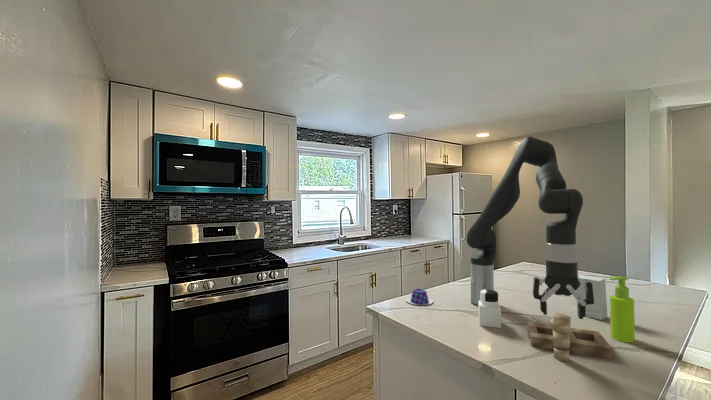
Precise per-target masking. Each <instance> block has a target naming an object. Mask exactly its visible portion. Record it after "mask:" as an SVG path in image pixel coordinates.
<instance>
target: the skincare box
mask: <svg viewBox="0 0 711 400" xmlns="http://www.w3.org/2000/svg"><path fill="white" fill-rule="evenodd" d="M578 280H579V281H586V280H588V281H589V282H591V283H592V286H593V296H594V304H588V305H586V307H585V308H586V316H585V317H588V318H592V319H596V320H601V321H603V320H604V319H606V318H607V317H608V303H607V286H606V285H607V284H606V278H604V277H598V276H597V277H595V276H590V275H589V276H588V275H583V274H581V275H578ZM576 292H577V293H578V294H579V296H580V297H581V298H582V299H586V292H585V289H583V287H582V286H581V285H580V286H579V288H578V289H577V290H576ZM578 304H579V302H578V300H577V299H576V310H577V311H576V312H577V313H576V314H578Z"/></svg>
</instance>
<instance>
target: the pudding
mask: <svg viewBox="0 0 711 400" xmlns="http://www.w3.org/2000/svg"><path fill="white" fill-rule="evenodd" d="M405 301H406V303H408V304H411V305H416V306H427V305H431V304H432V303H434V300H433V299H432V298H430V297H428V293H427V291H426V290H425V289H424V288H415V289H413V290H412V291H411V295H410V296H409V297H406V299H405Z"/></svg>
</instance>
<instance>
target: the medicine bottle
mask: <svg viewBox="0 0 711 400" xmlns="http://www.w3.org/2000/svg"><path fill="white" fill-rule="evenodd" d="M477 307H478V308H477V309H478V312H477V313H478V324H479V326H481V327H488V328H496V329H497V328H499V329H501V328H502V308H501V305H500V302H499V293H498V291H496V290H495V289H494V290H490V289H484V290H481V291H480V300H479V301H478V305H477Z"/></svg>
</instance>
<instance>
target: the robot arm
mask: <svg viewBox="0 0 711 400" xmlns="http://www.w3.org/2000/svg"><path fill="white" fill-rule="evenodd" d="M524 163H526V164H527V165H532V166H535V167H539V168H538V169H537V172H536V173H535V181H536V184H537V187H538V189H539V195H538V207H539V209H540V211H542V212H543V213H545V214H547V215H548V214H550V215H552V214H553V215H556V214H557V215H560V214H561V215H564V214H565V216H564V217H563V218H562V219H561V220H557V221H553V222H552V221H551V222H549V223H547V225H546V227H545V237H546V239H545V240H546V242H545V243H546V245H545V254H544V256H545V277H544V278H540V277H538V276H534V277H533V282H532V285H533V286H532V296H533V298H534V299H535V300H539V305H540V307H539V309H540V311H541V313H543V315H544V316H548V315H547V314H548V309H547V307H548V305H547V304H548V302H547V301H548V299H549V298H551V297H552V296H553V295H554V294H555V295H556V296H565V297H570V296H571V295H572V296H573V297H574V298H575V299H576V301H577V300H578V302H579V304H578V313H577V318H579V320H584V318H586V317H587V316H586V308H585V307H586V305H588V304H594V296H593V286H592V283H591V282H589V281H588V280H586V281H579V280H578V276H579V274H578V273H579V272H578V270H579V269H578V268H579V267H578V266H579V265H578V250H577V235H576V234H577V233H576V231H577V225H578V221H579V217H580V214H581V211H582V207H583V204H584V198H583V196H582V195H583V194H581V192H580V191H579V190H578V189H574V188H567V182H566V180H565V179H564V176H563V175H562V173H561V171H560V169H559V164H558V159H557V153H556V149H555V147H554V145H553V144H552V143H550V142H548V141H546V140H542V139H539V138H536V137H534V136H526V137H525V138H523V139H522V140H521V142H520V144H519V145H518V147H517V149H516V150H515V152H514V154H513V156H512V159H511V161H510V163H509V165H508V167H507V169H506V171H505V173H504V174H503V176H502V178H501V179H500V181H499V183H498V184H497V186H496V187H495V189H494V190H493V192H492V194H491V196H490V198H489V200H488V202H487V203H486V204H485V206H484V208H483V209H482V211H481V213H480V214H479V216H478V218H477V219H476V220H475V222H474V223H473V224H472V225H471V226H470V228H469V230H468V231H467V234H466V243H467V245H468V246H469V247H470V248H472V249H474V250H475V249H477V251H476V252H475V253H474V254H473V255H472V256H471V257H470V303H471V304H473V305H477V306H478V301H479V300H480V291H481V290H484V289H490V290H494V291H495V289H494V287H495V286H494V285H495V283H494V281H495V280H494V279H495V278H494V275H495V274H494V272H495V271H494V268H495V267H494V264H495V263H494V261H495V260H496V259H495V258H496V254H497V253H496V252H497V237H496V233H495V231H494V229H492V228H493V227H494V226H495V225H496V224H497V223H498V222H499V221H501V220H502V219H503V218H504V217H506V216H507V215H508V214H509V213H510V212H511V211H512V209H514V207H515V206H516V204H517V202H518V201H519V199H520V197H521V187H520V171H521V168H522V167H523V164H524ZM543 284H545V286H547V287H546V289H544V291H543V292H542V293H541V294H540V286H541V287H542V285H543ZM580 285H581V286H582V287H583V289H585V292H586V299H582V298H581V297H580V296H579V294H578V293H577V292H576V290H577V289H578V288H579V286H580Z"/></svg>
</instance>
